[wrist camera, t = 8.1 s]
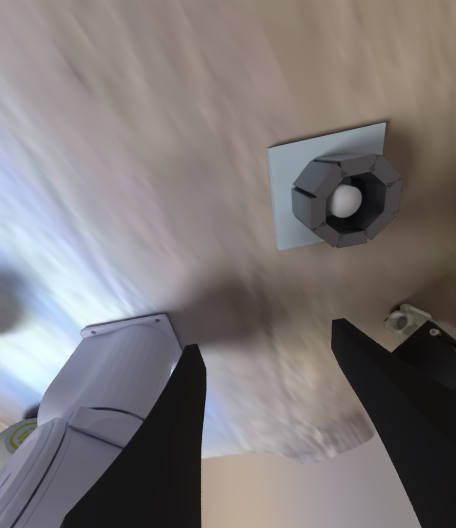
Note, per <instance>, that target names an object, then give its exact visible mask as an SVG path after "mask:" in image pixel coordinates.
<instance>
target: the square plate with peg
mask: <svg viewBox="0 0 456 528" xmlns="http://www.w3.org/2000/svg"><path fill="white" fill-rule="evenodd" d="M385 128H386V123H380V124H375V125H370V126H366V127H361V128H356V129H352V130H347V131H343V132H338V133H334V134H329V135H325V136H320V137H316V138H311V139H307V140H302V141H298V142H293V143H289V144H284V145H279V146H275V147H270V148H267V158H268V168H269V178H270V188H271V198H272V207H273V217H274V227H275V237H276V246H277V248H278V250H279V251H280V250H285V249H290V248H296V247H301V246H306V245H311V244H316V243H321V242H325V241H324V240H323V239H321V238H320V237H319V236H317V235H316V234H314V233H313V232H312V231H311V230H310V229H308V228H307V227H306V226H305V225H304V224H303V223H301V222H300V221H299V220H298V219H297V218H296V217H295V215H294V214H293V213H292V196H291V189H292V188H296V187H295V186H294V185H293V183H294V182H295V180H296V179H297V178H298V176H299V175H300V174H301V172H302V171H303V170H304V168H305V167H306V166H307V164H308V163H309V162H310V161H313V162H314V158H319V157H323V156H328V155H333V154H337V153H376V154H380V155H382V153H383V144H384V136H385ZM350 185H351V179H350V178H349V177H348V176H347V177H344V178H343V179H342V181H341V182H340V183H339V184H338V185H337V186H336V188H335V189H334V190H333V191H332V192H331V194H330V195H329V196H328V197H327V198H326V216H331V215H335V216H337V217H341V218H344V217H348V216H350V215H352V214H354V213H355V212H356V211H357V210H358V208H359V206H360V204H361V201H362V195H361V192H360V191H359V190H358V189H357V188H356V187H353V186H350Z"/></svg>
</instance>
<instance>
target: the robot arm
mask: <svg viewBox="0 0 456 528" xmlns="http://www.w3.org/2000/svg"><path fill="white" fill-rule="evenodd" d="M157 319H159V320H157ZM80 335H81V336H82V338H83V340H82V341H81V343H80V344H79V345H78V347H77V348H76V350H75V351H74V352H73V354H72V355H71V356H70V358H69V359H68V361H67V362H66V363H65V365H64V366H63V368H62V369H61V370H60V372H59V373H58V374H57V376H56V377H55V379H54V380H53V381H52V383H51V384H50V386H49V387H48V389H47V390H46V392H45V394H44V396H43V398H42V401H41V404H40V407H39V411H38V417H37V425H38V427H37V428H36V429H35V430H34V431H33V432H32V433H31V434H30V435H29V436H28V437H27V438H26V439H25V441H24V442H23V443H22V444H21V445H20V446H19V448H18V449H17V450H16V451H15V453H14V454H13V455H12V456H11V458H10V459H9V460H8V461H7V463H6V464H5V465H4V467H3V468H2V469H1V471H0V528H201V445H202V431H203V421H204V411H205V400H206V367H205V364H204V361H203V358H202V356H201V353H200V350H199V348H198V345H197V344H192V345H186V346H185V348H184V350H183V352H182V350H181V347H180V345H179V342H178V340H177V338H176V335H175V333H174V331H173V328H172V326H171V324H170V321H169V319H168V317H167V315H165V314H160V315H154V316H149V317H143V318H138V319H132V320H127V321H121V322H116V323H110V324H105V325H99V326H94V327H88V328H83V329H82V330H81V331H80ZM331 348H332V351H333V353H334V355H335V357H336V360H337V362H338V364H339V366H340V368H341V370H342V371H343V373H344V375H345V376H346V378H347V380H348V381H349V383H350V385H351V386H352V388H353V390H354V391H355V393H356V395H357V396H358V398H359V400H360V401H361V403H362V405H363V406H364V408H365V410H366V411H367V413H368V415H369V417H370V418H371V420H372V422H373V424H374V426H375V428H376V430H377V432H378V434H379V436H380V438H381V440H382V442H383V444H384V446H385V448H386V450H387V452H388V454H389V456H390V458H391V461H392V463H393V465H394V467H395V469H396V471H397V473H398V475H399V478H400V480H401V482H402V484H403V486H404V489H405V491H406V493H407V495H408V497H409V500H410V502H411V504H412V506H413V509H414V511H415V513H416V516H417V518H418V520H419V522H420V525H421V527H422V528H456V391H454V390H452V389H450V388H448V387H446V386H444V385H443V384H441V383H439V382H437V381H436V380H434V379H432V378H430V377H429V376H427V375H425V374H423V373H422V372H420V371H418V370H417V369H415V368H414V367H412V366H410V365H409V364H407V363H406V362H404V361H403V360H401V359H400V358H398V357H397V356H395V355H394V354H392V353H391V352H389V351H388V350H386V349H385V348H384V347H382V346H381V345H379V344H378V343H377V342H375V341H374V340H372V339H371V338H370V337H368V336H367V335H366V334H364V333H363V332H362V331H360V330H359V329H358V328H356V327H355V326H354V325H353V324H351V323H350V322H349V321H347V320H346V319H344V318H342V319H336V320H332V339H331ZM171 369H174V371H173V373H172V374H171ZM170 374H171V376H170Z"/></svg>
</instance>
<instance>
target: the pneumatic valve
mask: <svg viewBox="0 0 456 528" xmlns="http://www.w3.org/2000/svg"><path fill="white" fill-rule="evenodd" d="M384 326H385V328H387V329H389V330H391V331H392V333H393V334H394V335H395V336H396V337H397V338H399V339H400V343H401V344H400V345H399V346H398V347H397V348H396V349H395V350H394V351H393V352H392V354H394V355H395V356H397V357H398V358H400V359H401V360H403V361H404V362H406V363H407V364H409V365H410V366H412V367H414V368H415V369H417V370H418V371H420V372H422V373H423V374H425V375H427V376H429V377H430V378H432V379H434V380H436V381H437V382H439V383H441V384H443V385H444V386H446V387H448V388H450V389H452V390H454V391H456V332H455V331H453V330H450V329H448V328H446V327H443V326H441V325H440V324H439V323H438V322H437V321H435V320H433V319H432V318H431V315H430V314H429V313H427V312H425V311H423V310H420V309H418V308H416V307H413V306H411V305H409V304H406V303H405V304H402V305H401V306H400V310H399V311H394V312H393V313H391V314H390V315H389V317H388V319H387V320H386V321H385V322H384Z"/></svg>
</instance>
